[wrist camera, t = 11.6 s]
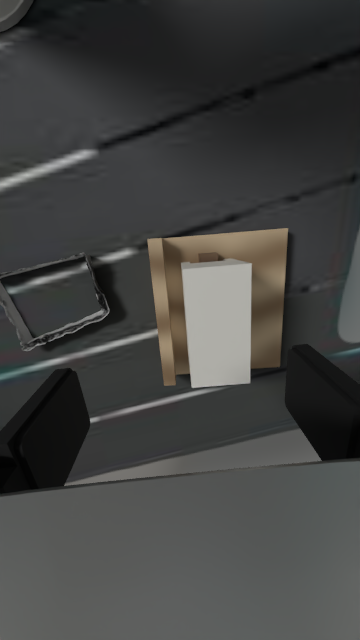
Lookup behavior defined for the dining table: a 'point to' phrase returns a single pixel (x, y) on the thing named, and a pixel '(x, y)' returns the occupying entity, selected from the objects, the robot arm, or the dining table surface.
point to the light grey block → (218, 321)
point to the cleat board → (260, 287)
